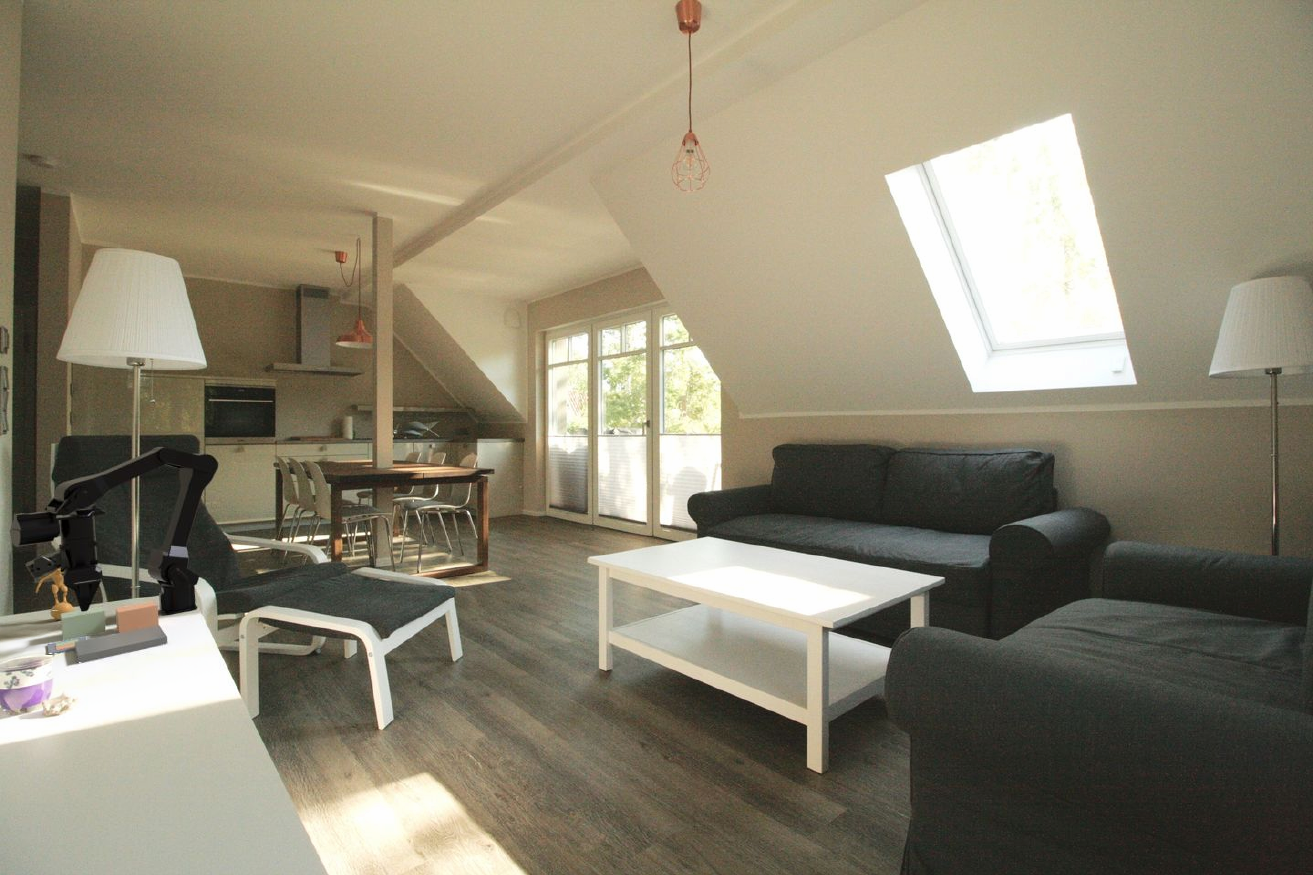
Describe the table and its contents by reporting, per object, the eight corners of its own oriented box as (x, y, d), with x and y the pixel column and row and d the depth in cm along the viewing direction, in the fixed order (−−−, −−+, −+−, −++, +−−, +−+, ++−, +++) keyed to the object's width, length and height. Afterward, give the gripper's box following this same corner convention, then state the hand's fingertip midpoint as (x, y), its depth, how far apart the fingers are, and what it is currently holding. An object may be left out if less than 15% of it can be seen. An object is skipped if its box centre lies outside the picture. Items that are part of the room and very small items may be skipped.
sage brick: (103, 627, 147) (102, 606, 147) (105, 632, 143) (104, 610, 143) (62, 635, 142) (60, 613, 142) (63, 641, 138) (61, 618, 138)
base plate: (159, 631, 143) (159, 624, 143) (167, 643, 135) (167, 636, 135) (75, 649, 133) (74, 641, 133) (78, 663, 125) (78, 655, 125)
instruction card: (85, 637, 140) (85, 635, 140) (88, 646, 134) (87, 645, 134) (47, 645, 135) (47, 643, 135) (48, 655, 130) (48, 653, 130)
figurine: (39, 625, 149) (35, 574, 148) (36, 620, 153) (33, 570, 152) (86, 616, 155) (83, 567, 154) (83, 611, 159) (79, 563, 158)
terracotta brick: (155, 621, 150) (154, 600, 150) (158, 626, 147) (157, 605, 146) (116, 629, 145) (115, 607, 145) (119, 634, 142) (117, 612, 142)
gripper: (27, 538, 142) (32, 606, 143) (27, 550, 129) (33, 625, 130) (93, 530, 150) (97, 595, 151) (100, 541, 137) (105, 612, 138)
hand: (83, 606), depth 142 cm, fingers open, 9 cm apart
